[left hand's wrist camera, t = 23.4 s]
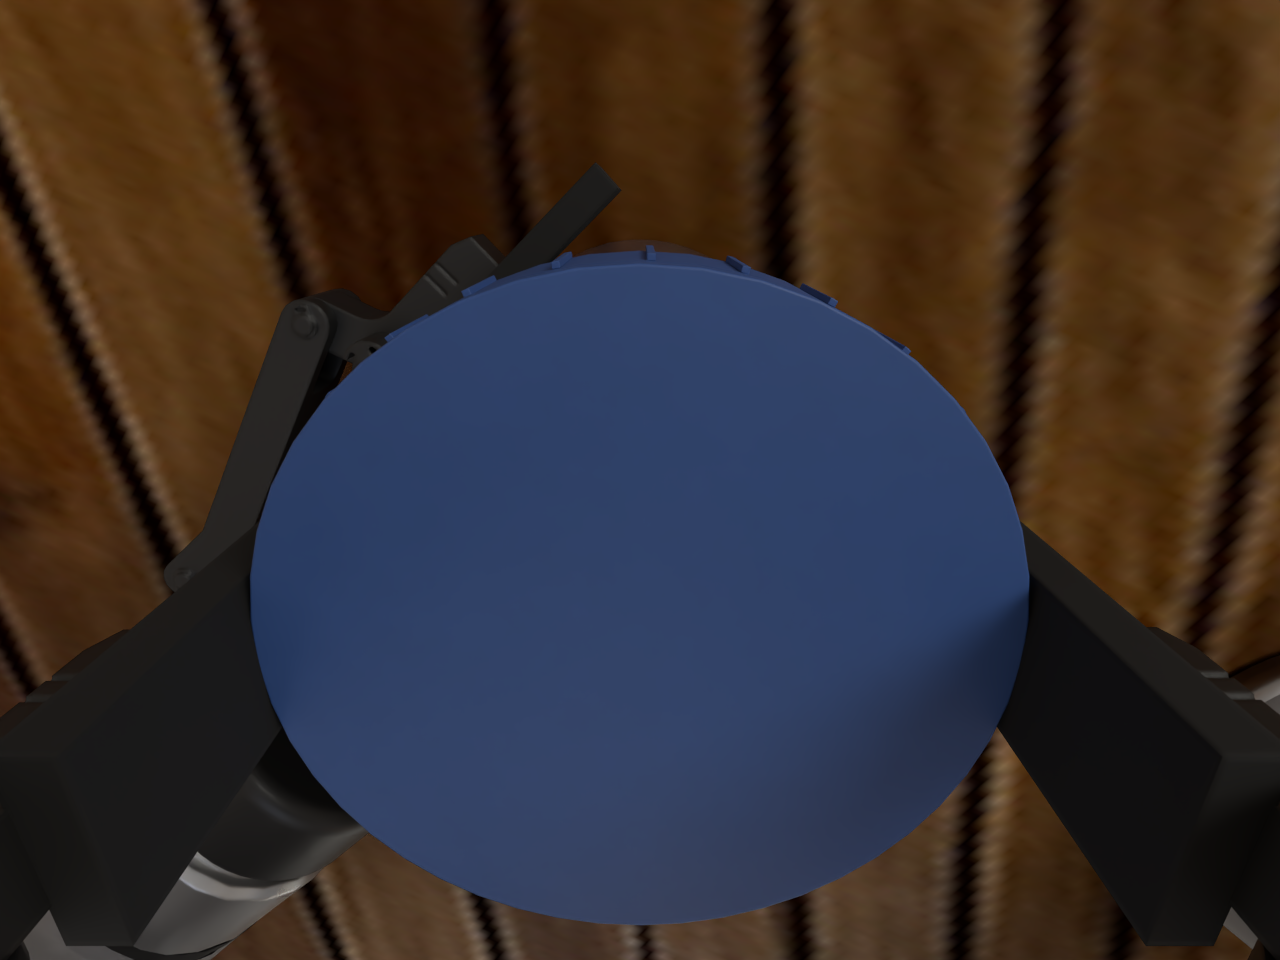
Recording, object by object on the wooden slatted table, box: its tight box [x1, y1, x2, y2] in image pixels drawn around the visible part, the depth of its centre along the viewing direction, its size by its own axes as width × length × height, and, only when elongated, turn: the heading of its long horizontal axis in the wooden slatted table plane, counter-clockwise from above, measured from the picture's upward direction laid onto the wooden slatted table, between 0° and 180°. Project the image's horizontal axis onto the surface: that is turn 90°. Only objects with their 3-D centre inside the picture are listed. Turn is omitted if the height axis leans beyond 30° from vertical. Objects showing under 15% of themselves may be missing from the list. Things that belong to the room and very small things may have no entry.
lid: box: [250, 245, 1029, 925], centre depth 11 cm, size 11×12×2 cm
